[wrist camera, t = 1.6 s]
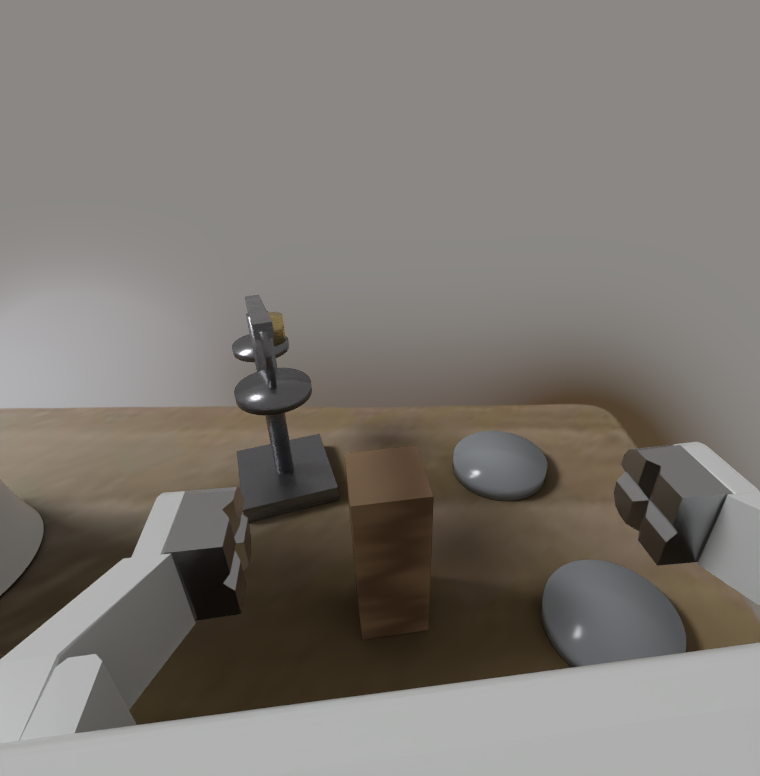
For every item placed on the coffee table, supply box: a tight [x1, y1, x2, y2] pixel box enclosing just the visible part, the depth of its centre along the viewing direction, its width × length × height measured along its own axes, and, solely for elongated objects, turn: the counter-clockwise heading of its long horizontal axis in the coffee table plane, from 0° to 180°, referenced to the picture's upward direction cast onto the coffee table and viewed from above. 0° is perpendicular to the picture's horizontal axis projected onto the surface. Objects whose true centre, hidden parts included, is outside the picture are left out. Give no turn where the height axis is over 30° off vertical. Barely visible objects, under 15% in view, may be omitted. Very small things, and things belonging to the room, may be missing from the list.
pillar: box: [344, 445, 434, 640], centre depth 30 cm, size 4×4×12 cm
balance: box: [232, 295, 339, 522], centre depth 40 cm, size 8×18×18 cm, turn 18°
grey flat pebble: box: [453, 431, 547, 501], centre depth 45 cm, size 8×8×1 cm
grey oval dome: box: [541, 560, 687, 668], centre depth 31 cm, size 8×8×1 cm
